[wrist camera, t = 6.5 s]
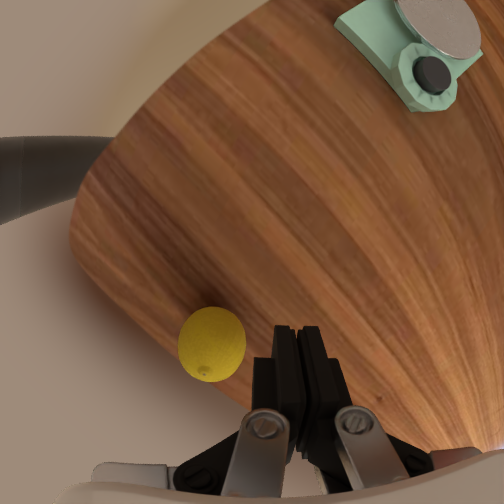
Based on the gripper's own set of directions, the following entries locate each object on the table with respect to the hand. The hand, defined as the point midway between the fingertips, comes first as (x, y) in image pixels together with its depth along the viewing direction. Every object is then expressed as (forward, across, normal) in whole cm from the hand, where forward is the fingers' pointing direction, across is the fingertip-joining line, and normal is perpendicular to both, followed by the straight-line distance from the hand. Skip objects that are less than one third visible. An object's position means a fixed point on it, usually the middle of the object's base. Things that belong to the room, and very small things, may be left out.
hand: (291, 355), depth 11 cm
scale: (+14, -12, -20) cm, 27 cm away
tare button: (+11, -11, -16) cm, 22 cm away
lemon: (+14, +5, +7) cm, 17 cm away
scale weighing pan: (+11, -13, -22) cm, 28 cm away
